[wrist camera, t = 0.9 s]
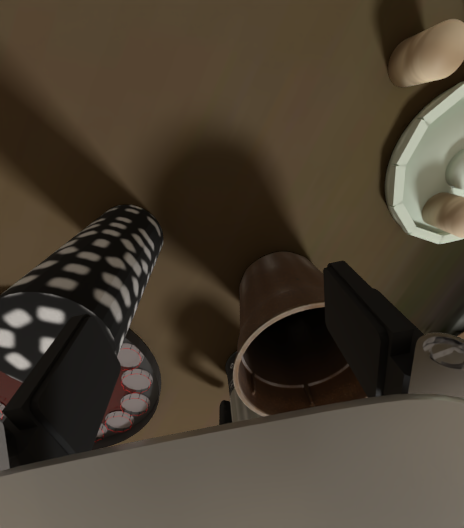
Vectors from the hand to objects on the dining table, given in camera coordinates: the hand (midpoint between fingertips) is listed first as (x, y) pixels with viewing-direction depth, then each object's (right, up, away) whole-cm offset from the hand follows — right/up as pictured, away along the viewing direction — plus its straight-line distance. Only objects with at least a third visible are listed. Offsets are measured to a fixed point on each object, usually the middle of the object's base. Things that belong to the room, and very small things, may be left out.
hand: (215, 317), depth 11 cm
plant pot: (+8, -1, +30) cm, 31 cm away
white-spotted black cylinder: (-13, +6, +24) cm, 28 cm away
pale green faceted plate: (+30, +15, +23) cm, 41 cm away
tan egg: (+20, +24, +18) cm, 36 cm away
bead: (+28, +10, +25) cm, 39 cm away
